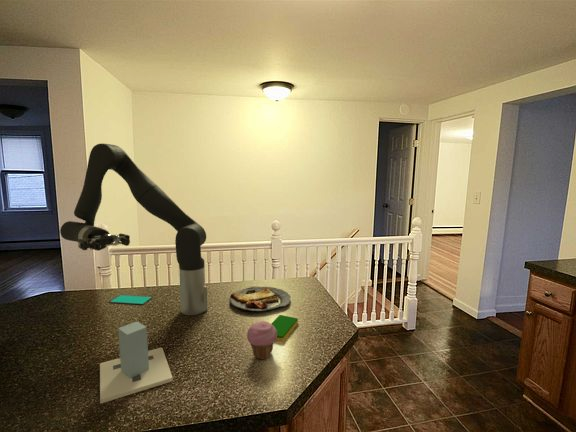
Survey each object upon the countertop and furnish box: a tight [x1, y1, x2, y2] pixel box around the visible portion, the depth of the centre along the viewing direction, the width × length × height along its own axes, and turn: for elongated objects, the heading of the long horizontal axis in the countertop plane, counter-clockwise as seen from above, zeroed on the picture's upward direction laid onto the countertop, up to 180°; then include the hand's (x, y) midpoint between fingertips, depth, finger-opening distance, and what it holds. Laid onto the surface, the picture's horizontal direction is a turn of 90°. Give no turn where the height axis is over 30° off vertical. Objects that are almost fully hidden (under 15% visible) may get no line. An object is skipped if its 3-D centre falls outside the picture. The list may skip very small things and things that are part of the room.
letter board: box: [99, 347, 174, 404], centre depth 84 cm, size 16×16×1 cm
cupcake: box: [246, 320, 277, 360], centre depth 92 cm, size 9×9×10 cm
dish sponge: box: [270, 314, 299, 343], centre depth 107 cm, size 7×14×2 cm, turn 158°
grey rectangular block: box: [117, 321, 149, 379], centre depth 83 cm, size 5×5×12 cm
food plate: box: [228, 286, 291, 312], centre depth 130 cm, size 25×23×4 cm
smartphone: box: [108, 294, 153, 306], centre depth 130 cm, size 7×1×15 cm
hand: (113, 244), depth 100 cm, fingers open, 8 cm apart
